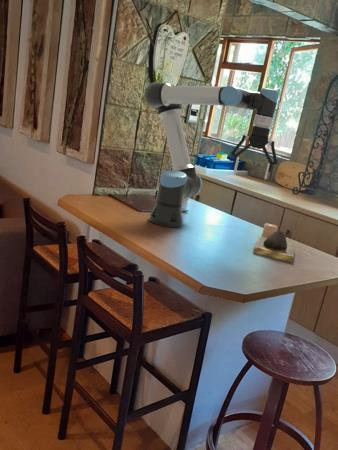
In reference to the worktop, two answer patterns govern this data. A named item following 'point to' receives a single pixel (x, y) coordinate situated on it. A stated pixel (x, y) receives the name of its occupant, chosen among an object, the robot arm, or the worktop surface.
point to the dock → (274, 250)
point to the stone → (276, 240)
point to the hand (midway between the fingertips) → (249, 175)
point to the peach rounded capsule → (268, 230)
